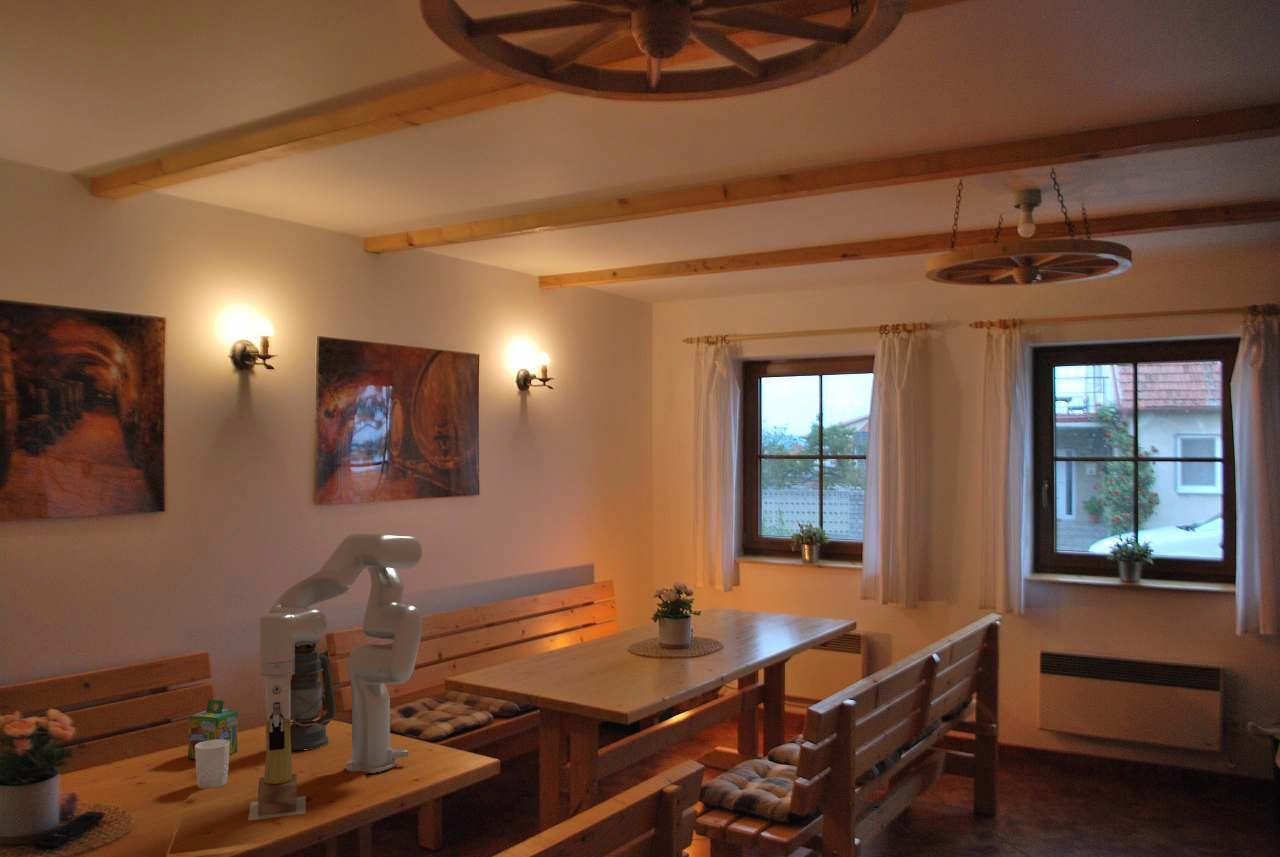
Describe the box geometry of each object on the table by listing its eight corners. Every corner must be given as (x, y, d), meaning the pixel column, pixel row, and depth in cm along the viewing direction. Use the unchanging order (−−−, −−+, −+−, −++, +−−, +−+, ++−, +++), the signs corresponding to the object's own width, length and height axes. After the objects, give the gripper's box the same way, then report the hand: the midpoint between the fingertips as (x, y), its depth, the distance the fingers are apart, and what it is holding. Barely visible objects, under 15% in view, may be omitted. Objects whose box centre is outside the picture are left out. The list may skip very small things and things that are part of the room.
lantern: (323, 732, 288) (322, 629, 289) (351, 741, 279) (350, 635, 280) (260, 748, 273) (260, 640, 274) (288, 758, 264) (288, 646, 265)
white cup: (216, 790, 239) (216, 749, 239) (187, 789, 240) (187, 747, 240) (236, 780, 246) (236, 740, 247) (208, 778, 248) (208, 738, 248)
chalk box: (187, 759, 264) (187, 704, 264) (209, 749, 273) (209, 695, 273) (217, 761, 262) (217, 705, 262) (238, 751, 271) (238, 697, 271)
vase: (268, 776, 227) (268, 714, 227) (295, 775, 228) (295, 713, 228) (260, 785, 221) (260, 721, 221) (288, 784, 222) (288, 720, 222)
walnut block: (296, 799, 229) (296, 773, 229) (296, 811, 221) (296, 784, 221) (259, 803, 226) (259, 777, 226) (258, 815, 219) (258, 788, 219)
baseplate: (305, 800, 231) (305, 795, 231) (305, 817, 220) (305, 813, 220) (251, 806, 228) (251, 802, 228) (247, 824, 216) (247, 820, 216)
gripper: (294, 674, 218) (294, 752, 217) (295, 659, 234) (295, 731, 234) (257, 677, 215) (258, 756, 215) (261, 661, 232) (261, 735, 231)
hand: (277, 743), depth 224 cm, fingers open, 9 cm apart
